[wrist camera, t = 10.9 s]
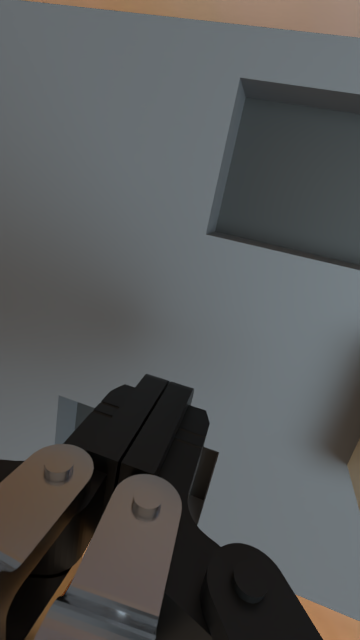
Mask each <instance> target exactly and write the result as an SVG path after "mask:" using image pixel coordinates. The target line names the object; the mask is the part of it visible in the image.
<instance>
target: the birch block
mask: <svg viewBox="0 0 360 640" xmlns="http://www.w3.org/2000/svg"><path fill="white" fill-rule="evenodd" d="M347 467H348V470H349V474H350V478H351V481H352V485H353V489H354V492H355V496H356V500H357V504H358V507H359V511H360V439H359V441H358V443H357V445H356V447H355V449H354V451H353V454H352V456H351V458H350V460H349V462H348V464H347Z"/></svg>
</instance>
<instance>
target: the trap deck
mask: <svg viewBox="0 0 360 640" xmlns="http://www.w3.org/2000/svg"><path fill="white" fill-rule="evenodd" d="M145 374H149V375H152V376H156V377H159V378H162V379H165V380H168V381H170V382H171V381H172V382H175V383H178V384H181V385H184V386H188V387H191V388H194V394H193V398H192V402H191V406H194V407H197V408H200V409H203V410H206V412H207V415H208V419H209V422H210V425H209V428H208V432H207V436H206V439H205V443H204V447H203V450H202V454H201V458H200V461H199V465H198V468H197V472H196V475H195V478H194V482H193V485H192V488H191V491H190V495H189V498H188V508H189V511H190V514H191V516H192V518H193V520H194V522H195V523H196V525H197V526H198V527H199V528H200V530H201V531H202V532H203V533H205V534H206V535H207V536H208V537H209V538H211V539H212V540H213V541H214V542H216V543H217V544H218V545H219V546H221V547H222V546H224V545H227V544H231V543H243V544H247V545H250V546H253V547H255V548H257V549H259V550H260V551H262V552H263V553H265V554H266V555H267V556H268V557H269V558H270V559H272V561H273V562H274V563H275V564H276V565H277V567H278V568H279V569H280V571H281V572H282V574H283V576H284V577H285V579H286V580H287V582H288V584H289V585H290V587H291V589H292V590H293V592H294V593H295V594H296V595H298V596H301V597H303V598H306V599H308V600H310V601H313V602H315V603H317V604H320V605H322V606H325V607H327V608H329V609H332V610H334V611H337V612H339V613H341V614H344V615H346V616H348V617H351V618H353V619H356V620H358V621H360V511H359V507H358V504H357V500H356V496H355V492H354V489H353V485H352V481H351V478H350V474H349V470H348V467H347V464H348V462H349V460H350V458H351V456H352V454H353V451H354V449H355V447H356V445H357V443H358V441H359V439H360V38H357V37H348V36H338V35H329V34H320V33H311V32H302V31H293V30H284V29H275V28H266V27H257V26H248V25H239V24H230V23H221V22H212V21H203V20H194V19H184V18H175V17H166V16H157V15H148V14H139V13H130V12H121V11H112V10H103V9H94V8H85V7H76V6H67V5H58V4H49V3H39V2H30V1H21V0H0V459H1V460H13V461H25V460H26V459H28V458H29V457H30V456H31V455H32V454H33V453H35V452H36V451H38V450H40V449H42V448H44V447H46V446H50V445H55V444H63V443H64V442H65V441H66V440H67V439H68V438H69V436H70V435H71V434H72V433H73V432H74V431H75V430H76V429H77V427H78V426H79V425H80V424H81V423H82V422H83V421H84V420H85V419H86V417H87V416H88V415H89V414H90V413H91V412H93V411H94V409H95V407H96V406H97V405H98V404H99V403H101V401H102V400H103V399H104V397H105V396H106V395H107V394H108V393H109V392H110V391H111V390H113V389H115V388H117V387H120V386H122V385H124V384H126V385H129V386H132V387H136V386H137V384H138V383H139V382H140V381H141V379H142V378H143V377H144V375H145Z"/></svg>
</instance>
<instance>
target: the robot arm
mask: <svg viewBox="0 0 360 640" xmlns="http://www.w3.org/2000/svg"><path fill="white" fill-rule="evenodd" d="M193 394H194V388H191V387H188V386H184V385H181V384H178V383H175V382H172V381H171V382H170V381H168V380H165V379H162V378H159V377H156V376H152V375H149V374H145V375H144V377H143V378H142V379H141V381H140V382H139V383H138V384H137V386H136V387H132V386H129V385H126V384H124V385H122V386H120V387H117V388H115V389H113V390H111V391H110V392H109V393H108V394H107V395H106V396H105V397H104V399H103V400H102V401H101V403H99V404H98V405H97V406H96V407H95V409H94V411H93V412H91V413H90V414H89V415H88V416H87V417H86V419H85V420H84V421H83V422H82V423H81V424H80V425H79V426H78V427H77V429H76V430H75V431H74V432H73V433H72V434H71V435H70V436H69V438H68V439H67V440H66V441H65V442H64V443H63V444H55V445H50V446H46V447H44V448H42V449H40V450H38V451H36V452H35V453H33V454H32V455H31V456H30V457H29V458H28V459H26V460H25V461H13V460H1V459H0V640H323V639H322V637H321V636H320V634H319V632H318V631H317V629H316V628H315V626H314V624H313V623H312V621H311V619H310V618H309V616H308V615H307V613H306V611H305V610H304V608H303V606H302V605H301V603H300V602H299V600H298V598H297V597H296V595H295V593H294V592H293V590H292V589H291V587H290V585H289V584H288V582H287V580H286V579H285V577H284V576H283V574H282V572H281V571H280V569H279V568H278V567H277V565H276V564H275V563H274V562H273V561H272V559H270V558H269V557H268V556H267V555H266V554H265V553H263V552H262V551H260V550H259V549H257V548H255V547H253V546H250V545H247V544H243V543H231V544H227V545H224V546H222V547H221V546H219V545H218V544H217V543H216V542H214V541H213V540H212V539H211V538H209V537H208V536H207V535H206V534H205V533H203V532H202V531H201V530H200V528H199V527H198V526H197V525H196V523H195V522H194V520H193V518H192V516H191V514H190V511H189V508H188V498H189V495H190V491H191V488H192V485H193V482H194V478H195V475H196V472H197V468H198V465H199V461H200V458H201V454H202V450H203V447H204V443H205V439H206V436H207V432H208V428H209V425H210V422H209V419H208V415H207V412H206V410H203V409H200V408H197V407H194V406H191V402H192V398H193ZM89 542H90V543H89ZM88 544H89V546H88ZM87 546H88V548H87ZM86 548H87V550H86ZM85 550H86V552H85V554H84V556H83V558H82V555H83V553H84V551H85ZM73 577H74V578H73ZM72 579H73V580H72ZM71 580H72V582H71ZM70 582H71V584H70V586H69V588H68V590H67V591H66V593H65V594H64V595H63V596H62V594H63V593H64V591H65V590H66V588H67V587H68V585H69V583H70Z"/></svg>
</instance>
